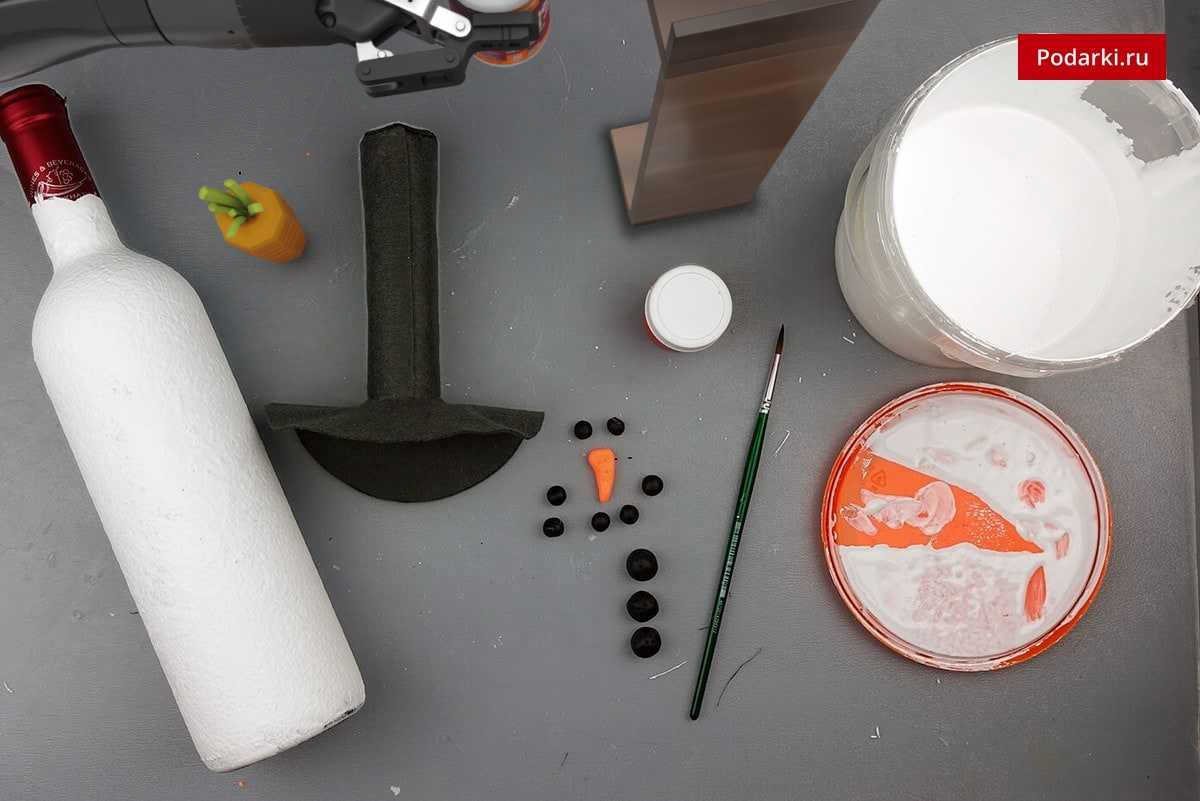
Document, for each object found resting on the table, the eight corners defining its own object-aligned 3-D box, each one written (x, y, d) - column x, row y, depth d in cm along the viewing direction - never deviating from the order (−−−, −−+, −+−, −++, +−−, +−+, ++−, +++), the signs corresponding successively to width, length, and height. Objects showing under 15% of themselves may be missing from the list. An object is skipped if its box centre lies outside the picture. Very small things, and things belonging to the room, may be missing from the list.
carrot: (339, 248, 73) (278, 193, 58) (297, 293, 73) (225, 249, 58) (294, 207, 73) (222, 142, 58) (252, 252, 73) (168, 198, 58)
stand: (609, 134, 74) (629, -69, 46) (726, 109, 75) (819, -107, 46) (631, 227, 74) (665, 80, 45) (749, 202, 74) (856, 40, 46)
